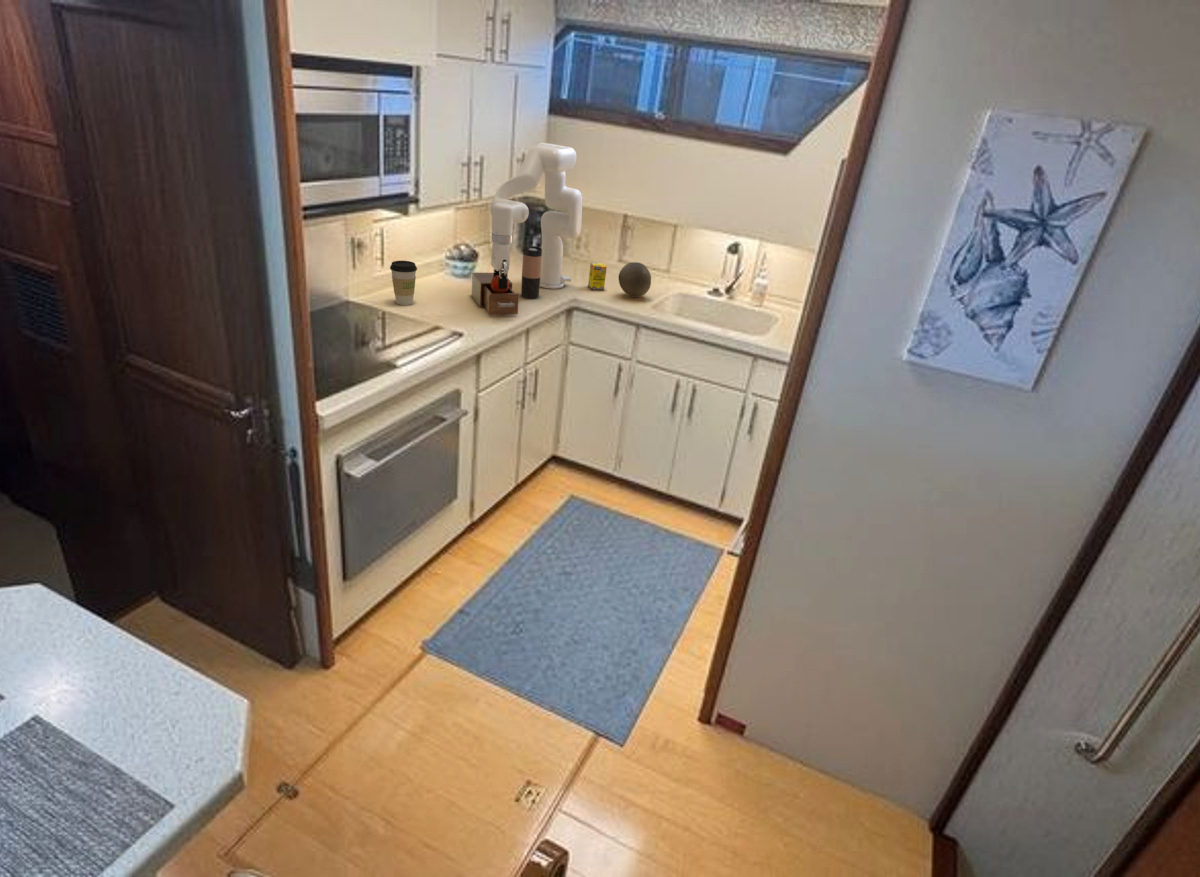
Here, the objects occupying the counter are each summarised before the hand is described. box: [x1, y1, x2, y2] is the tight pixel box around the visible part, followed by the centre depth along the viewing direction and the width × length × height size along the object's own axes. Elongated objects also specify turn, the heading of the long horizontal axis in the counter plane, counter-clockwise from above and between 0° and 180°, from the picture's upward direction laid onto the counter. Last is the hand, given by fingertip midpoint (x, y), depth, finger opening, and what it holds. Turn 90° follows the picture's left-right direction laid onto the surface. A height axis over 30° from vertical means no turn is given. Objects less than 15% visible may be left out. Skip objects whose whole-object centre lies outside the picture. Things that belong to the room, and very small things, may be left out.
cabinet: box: [471, 272, 513, 308], centre depth 275 cm, size 15×13×10 cm
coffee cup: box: [389, 260, 418, 306], centre depth 261 cm, size 10×10×15 cm
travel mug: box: [520, 245, 542, 300], centre depth 285 cm, size 8×8×20 cm
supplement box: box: [587, 262, 607, 292], centre depth 308 cm, size 6×6×11 cm
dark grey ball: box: [618, 262, 652, 298], centre depth 301 cm, size 14×14×15 cm
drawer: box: [482, 285, 520, 315], centre depth 264 cm, size 18×11×8 cm, turn 22°
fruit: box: [491, 275, 509, 293], centre depth 263 cm, size 7×7×8 cm
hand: (500, 285), depth 263 cm, fingers closed on fruit, 7 cm apart
